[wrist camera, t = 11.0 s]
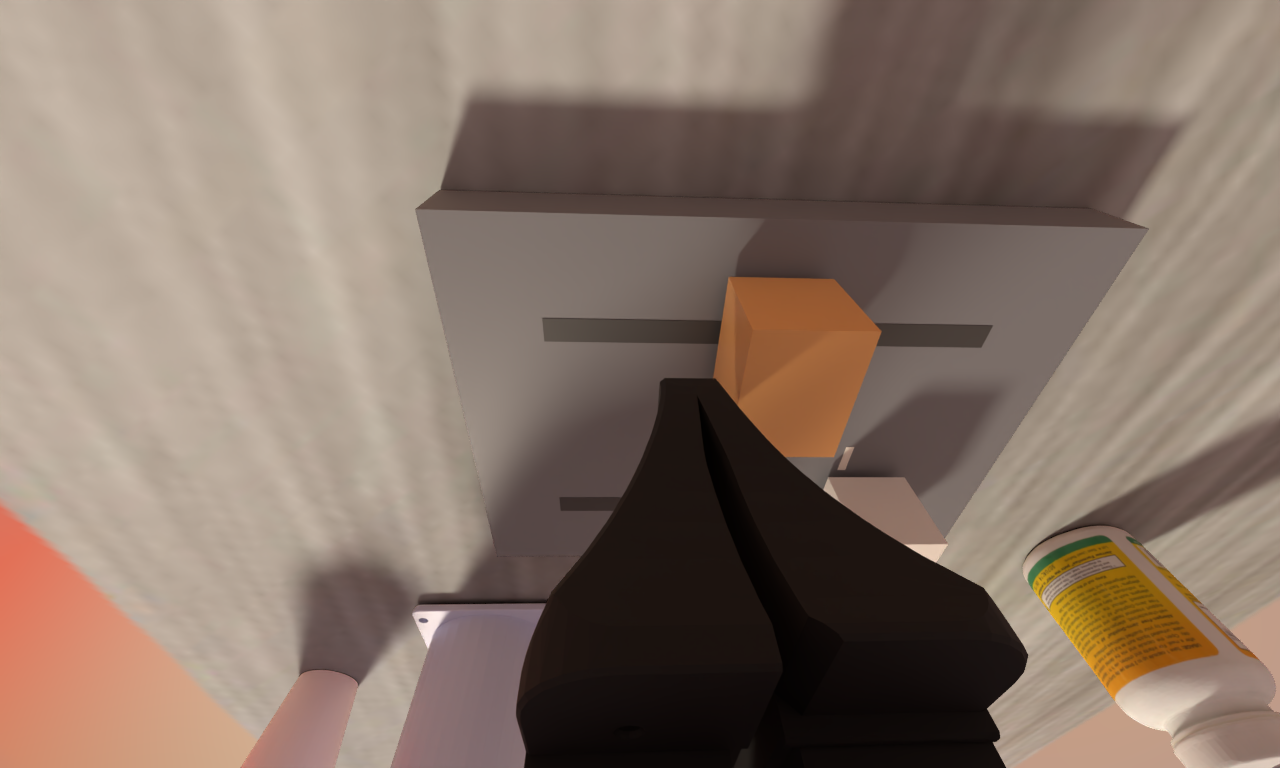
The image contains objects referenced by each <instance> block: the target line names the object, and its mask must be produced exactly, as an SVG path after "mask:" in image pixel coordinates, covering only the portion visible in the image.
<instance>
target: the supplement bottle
mask: <svg viewBox="0 0 1280 768" xmlns="http://www.w3.org/2000/svg"><path fill="white" fill-rule="evenodd" d="M1023 574H1024V577H1025V579H1026V581H1027V582H1028V583H1029V585H1030V586H1031V588H1032V589H1033V591H1034V592H1035V593H1036V595H1037V596H1038V597H1039V599H1040V600H1041V602H1042V603H1043V604H1044V605H1045V607H1046V608H1047V610H1048V611H1049V612H1050V614H1051V615H1052V616H1053V618H1054V619H1055V620H1056V622H1057V623H1058V624H1059V626H1060V627H1061V628H1062V630H1063V631H1064V632H1065V634H1066V635H1067V636H1068V638H1069V639H1070V641H1071V642H1072V643H1073V644H1074V646H1075V647H1076V649H1077V650H1078V651H1079V653H1080V654H1081V655H1082V657H1083V658H1084V659H1085V660H1086V662H1087V663H1088V665H1089V666H1090V667H1091V669H1092V670H1093V671H1094V673H1095V674H1096V676H1097V677H1098V679H1099V680H1100V681H1101V682H1102V684H1103V685H1104V687H1105V688H1106V690H1107V691H1108V693H1109V694H1110V695H1111V697H1112V698H1113V699H1114V701H1115V702H1116V703H1117V704H1118V705H1119V707H1120V708H1121V709H1122V710H1123V711H1124V712H1125V713H1126V714H1127V715H1128V716H1130V717H1131V718H1132V719H1134V720H1135V721H1137V722H1139V723H1141V724H1143V725H1145V726H1147V727H1151V728H1153V729H1157V730H1162V731H1168V733H1169V734H1170V735H1171V736H1172V738H1173V739H1172V740H1171V745H1172V747H1173V748H1174V753H1175V755H1176V756H1177V757H1178V758H1179V759H1180V761H1181V762H1182V763H1183V764H1184V766H1185V767H1186V768H1272V767H1274V766H1276V765H1278V764H1280V713H1279V712H1274V711H1273V710H1272V709H1271V708H1270V707H1269V706H1268V704H1269V703H1270V702H1271V701H1272V700H1273V698H1274V696H1275V692H1276V685H1275V681H1274V678H1273V676H1272V674H1271V673H1270V671H1269V670H1268V669H1267V667H1266V666H1265V665H1264V664H1263V663H1262V662H1261V661H1260V660H1259V659H1258V658H1257V657H1256V656H1255V655H1254V654H1253V653H1252V652H1251V651H1250V650H1249V649H1248V648H1247V647H1246V646H1245V645H1244V644H1243V643H1242V642H1241V641H1240V640H1239V639H1238V638H1237V637H1236V636H1235V635H1234V634H1233V633H1232V632H1231V631H1230V630H1229V629H1228V628H1226V627H1225V626H1224V625H1223V624H1222V623H1221V622H1220V621H1219V620H1218V619H1217V618H1216V617H1215V616H1214V615H1213V614H1212V613H1211V612H1210V611H1209V610H1208V609H1207V608H1206V607H1205V606H1204V605H1203V604H1202V603H1201V602H1200V601H1199V600H1198V599H1197V598H1196V597H1195V596H1194V595H1193V594H1192V593H1191V592H1190V591H1189V590H1188V589H1187V588H1186V587H1184V586H1183V585H1182V584H1181V583H1180V582H1179V581H1178V580H1177V579H1176V578H1175V577H1174V576H1173V575H1172V574H1171V573H1170V572H1169V571H1168V570H1167V569H1166V568H1165V567H1164V566H1163V565H1162V564H1161V563H1160V562H1159V561H1158V560H1157V559H1156V558H1155V557H1154V556H1153V555H1152V554H1151V553H1150V552H1149V551H1148V550H1146V549H1145V548H1144V547H1143V546H1142V545H1141V544H1140V543H1139V542H1138V541H1137V540H1136V539H1135V538H1134V537H1133V536H1132V535H1130V534H1129V533H1128V532H1126V531H1124V530H1122V529H1119V528H1116V527H1111V526H1089V527H1083V528H1079V529H1075V530H1072V531H1069V532H1066V533H1063V534H1060V535H1057V536H1055V537H1053V538H1050V539H1048V540H1046V541H1045V542H1043V543H1041V544H1040V545H1038V546H1037V547H1036V548H1035V549H1034V550H1033V551H1032V552H1031V553H1030V554H1029V555H1028V556H1027V558H1026V560H1025V562H1024V564H1023Z"/></svg>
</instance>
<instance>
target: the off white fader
mask: <svg viewBox="0 0 1280 768" xmlns="http://www.w3.org/2000/svg"><path fill="white" fill-rule="evenodd" d="M823 490H824V491H825V492H827V493H828V494H829V495H831V496H832V497H833V498H835V499H836V500H837V501H839V502H840V503H841V504H843V505H844V506H846V507H847V508H849V509H850V510H851V511H853V512H854V513H856V514H857V515H858V516H860V517H861V518H863V519H864V520H866V521H867V522H869V523H870V524H872V525H873V526H875V527H876V528H878V529H879V530H881V531H883V532H884V533H886V534H887V535H889V536H891V537H892V538H894V539H896V540H897V541H899V542H901V543H902V544H904V545H906V546H907V547H909V548H910V549H912V550H914V551H915V552H917V553H919V554H921V555H922V556H924V557H926V558H928V559H930V560H932V561H934V562H935V563H936V562H937V560H938V559H939V557H940V556H941V554H942V553H943V551H944V550H945V548H946V547H947V545H948V543H947V542H946V540H945V539H944V537H943V536H942V534H941V533H940V531H939V529H938V528H937V526H936V525H935V523H934V522H933V520H932V519H931V517H930V516H929V514H928V513H927V511H926V510H925V508H924V506H923V505H922V503H921V502H920V500H919V499H918V497H917V496H916V494H915V493H914V491H913V490H912V488H911V487H910V485H909V483H908V482H907V480H906V479H905V477H828V479H827V481H826V484H825V487H824V489H823Z"/></svg>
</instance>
